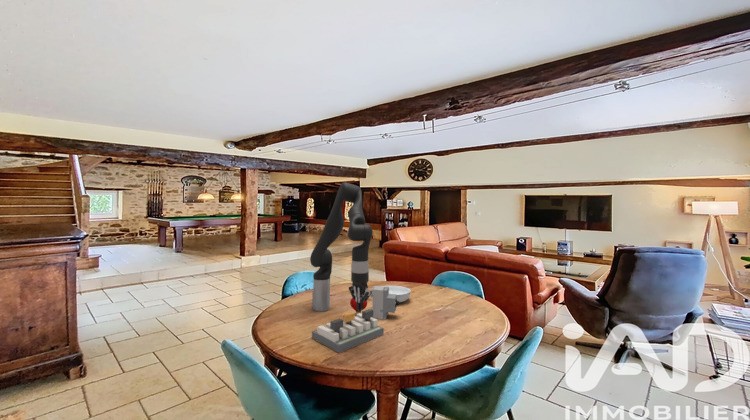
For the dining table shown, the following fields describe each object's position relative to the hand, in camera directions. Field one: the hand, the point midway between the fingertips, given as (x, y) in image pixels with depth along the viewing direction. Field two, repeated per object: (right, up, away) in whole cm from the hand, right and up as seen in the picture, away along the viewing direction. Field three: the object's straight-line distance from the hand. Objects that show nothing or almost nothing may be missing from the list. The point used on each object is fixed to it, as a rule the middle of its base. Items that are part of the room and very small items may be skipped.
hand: (359, 310), depth 141 cm
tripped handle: (-5, -10, +5) cm, 13 cm away
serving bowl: (+18, -12, +57) cm, 61 cm away
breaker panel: (-5, -13, +5) cm, 15 cm away
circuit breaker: (+12, -13, +31) cm, 35 cm away
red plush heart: (-2, -13, +31) cm, 33 cm away
